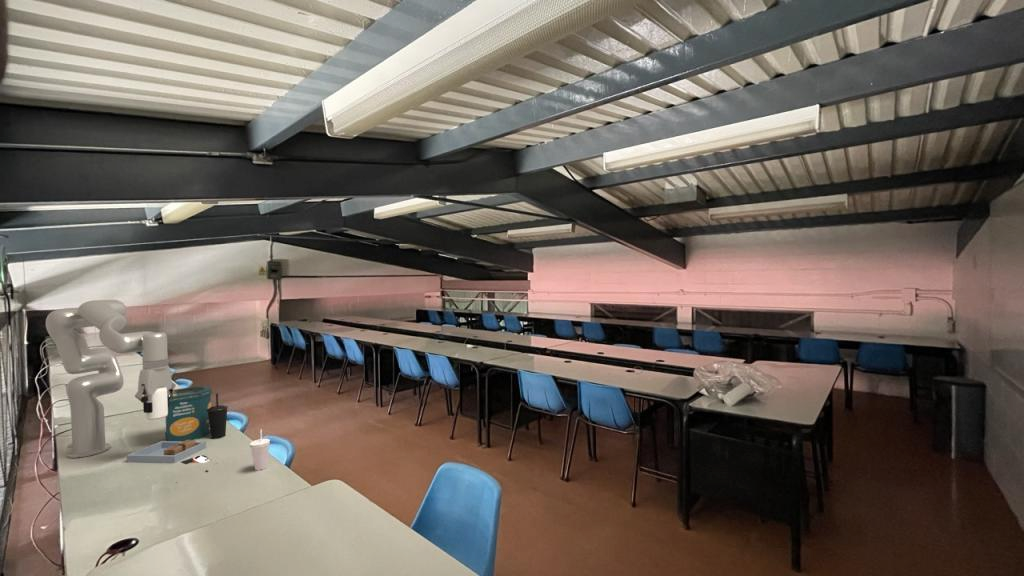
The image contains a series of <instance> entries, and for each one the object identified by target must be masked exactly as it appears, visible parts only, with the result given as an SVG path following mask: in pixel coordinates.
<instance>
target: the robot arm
mask: <svg viewBox="0 0 1024 576" xmlns="http://www.w3.org/2000/svg"><path fill="white" fill-rule="evenodd" d="M126 314H127V306H126V304H124V302H122V301H121V300H118V299H97V300H96V299H95V300H94V299H93V300H89V301H86V302H83V303H81V304H80V305H79V306H78V307H66V308H59V309H56V310H52V311H51V312H50V313H48V314H47V317H46V319H45V328H46V331H47V333H48V335H49V336H50V338H51V339H52V340H53V342H54V344H55V346H56V349H57V352H58V354H59V358H60V359H61V363H62V366H63V368H64V370H65V372H66V373H68V374H69V375H79V374H85V375H81V376H77V377H75V378H72V379H71V380H70V381H68V383H67V384H66V387H65V392H66V395H67V399H68V401H69V408H70V418H71V419H70V422H71V423H70V424H71V442H70V443H69V444H67V445H66V448H68V449H71V450H70V451H69V452H67V455H66V457H67V458H69V459H78V457H80V458H85V457H90V456H95V455H98V454H101V453H103V452H106V451H108V450H109V449H111V447H112V444H111V443H108V442H107V443H106V428H105V427H106V426H105V425H106V424H105V408H104V404H103V403H102V402H101V401H100V400H98V398H97V397H100V396H104V395H109V394H113V393H116V392H119V391H120V390H121V389H122V388H123V386H124V376H123V374H122V371H121V368H120V365H119V362H118V360H117V359H118V358H117V356H116V355H115V353H116V354H120V355H121V354H130V353H135V352H141V353H142V357H141V358H142V359H141V360H142V369H140V371H139V375H138V383H137V386H138V387H137V392H136V393H135V394H134V397H135V398H136V399H137V400H139V401H140V402H141V403H142V404H143V413H145V414H146V413H151V412H152V402H150V401H151V399H152V395H153V394H155V392H156V390H157V388H161V387H164V386H165V387H166V388H167V400H168V407H169V397H170V396H171V393H172V391H173V390H175V388H176V386H177V385H176V384H175V383H174V382H173V380H172V379H173V378H172V371H171V368H170V366H169V362H170V359H169V356H168V355H169V354H168V353H169V351H168V335H167V334H166V332H164V331H163V332H160V331H159V332H154V331H150V330H146V331H145V330H144V331H136V332H127V333H126V332H125V333H120V331H122V330H123V329H124V327H125V326H126V323H127V319H126V317H125V316H126ZM90 327H91V328H92V327H95V328H96V329H97V330H99V335H98V336H99V341H100V342H101V344H102V345H103V346H104V347H95V348H90V347H89V345H88V343H87V339H86V338H85V337H84V336H83V335H82V334H81V333H79V332H78V331H76V330H74V329H81V328H90ZM92 372H97V373H92ZM86 373H89V374H86ZM90 373H91V374H90ZM146 393H147V394H146ZM147 396H148V398H147Z"/></svg>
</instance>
